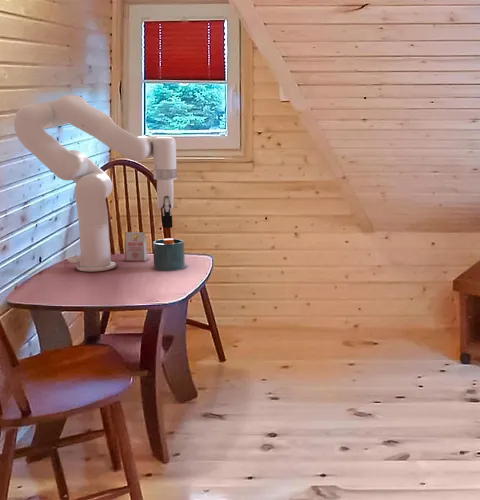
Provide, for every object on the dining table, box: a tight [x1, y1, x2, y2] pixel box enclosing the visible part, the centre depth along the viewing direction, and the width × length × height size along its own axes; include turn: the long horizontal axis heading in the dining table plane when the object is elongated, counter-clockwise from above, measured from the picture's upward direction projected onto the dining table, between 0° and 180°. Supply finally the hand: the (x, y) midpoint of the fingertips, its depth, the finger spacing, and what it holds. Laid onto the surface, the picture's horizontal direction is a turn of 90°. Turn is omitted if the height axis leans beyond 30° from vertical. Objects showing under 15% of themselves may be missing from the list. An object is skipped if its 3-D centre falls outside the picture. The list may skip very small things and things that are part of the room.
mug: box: [152, 238, 186, 272], centre depth 262 cm, size 14×10×9 cm
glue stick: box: [162, 237, 175, 244], centre depth 260 cm, size 3×3×9 cm
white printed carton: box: [124, 231, 148, 262], centre depth 271 cm, size 4×7×10 cm, turn 90°
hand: (167, 225), depth 258 cm, fingers open, 9 cm apart
